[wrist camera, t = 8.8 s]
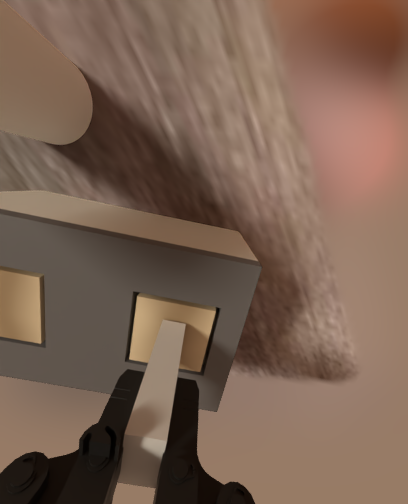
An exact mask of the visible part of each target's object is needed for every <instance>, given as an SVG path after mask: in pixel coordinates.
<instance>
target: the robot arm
mask: <svg viewBox="0 0 408 504" xmlns="http://www.w3.org/2000/svg"><path fill="white" fill-rule="evenodd" d="M185 326H186V324H184V323H179V322H173V321H168V320H163V321H162V323H161V326H160V329H159V332H158V335H157V338H156V341H155V344H154V347H153V350H152V353H151V356H150V359H149V362H148V365H147V368H146V371H145V372H142V371H136V370H130V369H127V370H126V371H125V372H124V373H123V374H122V375H121V376H120V377H119V379H118V381H117V383H116V385H115V388H114V390H113V392H112V394H111V397H110V398H109V401H108V403H107V405H106V407H105V409H104V411H103V414H102V416H101V418H100V420H99V422H98V423H97V424H94V425H92V426H91V427H90V428H88V429H87V430H86V431H85V432H84V434H83V435H82V437H81V438H80V440H79V449H78V450H76V451H75V452H73V453H70V454H67V455H63V456H59V457H54V458H50V459H48V458H47V457H46V456H45V455H44V454H43V453H40V452H31V453H26V454H24V455H22V456H21V457H19V458H17V459H15V460H14V461H13V462H12V463H11V464H10V465H8V466H7V467H6V468H5V469H4V470H3V472H1V473H0V504H112V500H113V495H114V491H115V488H116V485H117V482H118V483H124V484H131V485H138V486H145V487H151V488H156V490H155V496H154V501H153V504H255V502H254V500H253V498H252V495H251V494H250V493H249V491H248V490H247V489H246V488H245V487H244V486H243V485H241V484H240V483H238V482H229V483H227V484H225V485H223V484H222V483H220V482H219V481H217V480H215V479H214V478H212V477H211V476H209V475H208V474H207V473H206V472H205V471H204V469H203V468H202V466H201V464H200V462H199V459H198V456H197V431H198V410H199V388H198V385H197V382H196V380H191V379H185V378H179V377H177V376H178V369H179V363H180V357H181V351H182V344H183V338H184V332H185Z"/></svg>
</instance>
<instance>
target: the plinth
mask: <svg viewBox="0 0 408 504" xmlns="http://www.w3.org/2000/svg"><path fill="white" fill-rule="evenodd" d="M0 266H4V267H10V268H15V269H20V270H25V271H30V272H36V273H41V274H44V288H45V336H46V340H45V341H44V342H43V343H42V344H39V343H34V342H28V341H23V340H17V339H11V338H6V337H0V376H6V377H12V378H18V379H24V380H30V381H36V382H42V383H49V384H54V385H60V386H66V387H71V388H77V389H84V390H89V391H95V392H101V393H107V394H112V392H113V390H114V388H115V385H116V383H117V381H118V379H119V377H120V376H121V375H122V374H123V373H124V372H125V371H126V370H127V369H130V370H136V371H142V372H145V371H146V368H147V365H148V363H146V362H141V361H135V360H129V357H130V349H131V342H132V334H133V326H134V318H135V310H136V302H137V296H138V294H139V293H145V294H150V295H155V296H161V297H166V298H171V299H176V300H182V301H187V302H192V303H197V304H202V305H208V306H213V307H216V313H215V317H214V321H213V324H212V328H211V332H210V336H209V340H208V344H207V348H206V351H205V355H204V359H203V363H202V367H201V371H200V372H197V371H192V370H186V369H180V368H179V369H178V376H177V377H179V378H185V379H191V380H196V382H197V385H198V388H199V409H202V410H208V411H214V412H217V410H218V407H219V404H220V401H221V398H222V394H223V391H224V388H225V384H226V381H227V378H228V375H229V372H230V369H231V365H232V362H233V359H234V356H235V353H236V349H237V346H238V343H239V340H240V337H241V333H242V330H243V327H244V324H245V321H246V317H247V314H248V311H249V308H250V305H251V301H252V298H253V295H254V292H255V289H256V285H257V282H258V279H259V276H260V273H261V269H262V266H261V264H260V263H259V261H258V260H257V258H256V257H255V255H254V254H253V252H252V251H251V249H250V248H249V246H248V245H247V243H246V242H245V240H244V239H243V237H242V236H241V234H240V233H239V231H234V230H229V229H225V228H220V227H215V226H210V225H206V224H201V223H196V222H191V221H186V220H182V219H177V218H172V217H167V216H163V215H158V214H153V213H148V212H143V211H139V210H134V209H129V208H124V207H120V206H115V205H110V204H105V203H101V202H96V201H91V200H86V199H81V198H77V197H72V196H67V195H62V194H58V193H53V192H48V191H43V190H38V191H10V192H0Z"/></svg>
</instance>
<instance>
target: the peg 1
mask: <svg viewBox="0 0 408 504" xmlns="http://www.w3.org/2000/svg"><path fill="white" fill-rule="evenodd" d="M0 337H6V338H11V339H17V340H23V341H28V342H34V343H39V344H42V343H43V342H44V341H45V340H46V336H45V288H44V274H41V273H36V272H30V271H25V270H20V269H15V268H10V267H4V266H0Z"/></svg>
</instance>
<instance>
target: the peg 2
mask: <svg viewBox="0 0 408 504" xmlns="http://www.w3.org/2000/svg"><path fill="white" fill-rule="evenodd" d="M215 313H216V307H213V306H208V305H202V304H197V303H192V302H187V301H182V300H176V299H171V298H166V297H161V296H155V295H150V294H145V293H139V294H138V296H137V302H136V310H135V318H134V326H133V334H132V342H131V349H130V357H129V360H135V361H141V362H146V363H148V362H149V359H150V356H151V353H152V350H153V347H154V344H155V341H156V338H157V335H158V332H159V329H160V326H161V323H162V321H163V320H168V321H173V322H179V323H184V324H186V326H185V332H184V338H183V344H182V351H181V357H180V363H179V368H180V369H186V370H192V371H197V372H200V371H201V367H202V363H203V359H204V355H205V351H206V348H207V344H208V340H209V336H210V332H211V328H212V324H213V321H214V317H215Z"/></svg>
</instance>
